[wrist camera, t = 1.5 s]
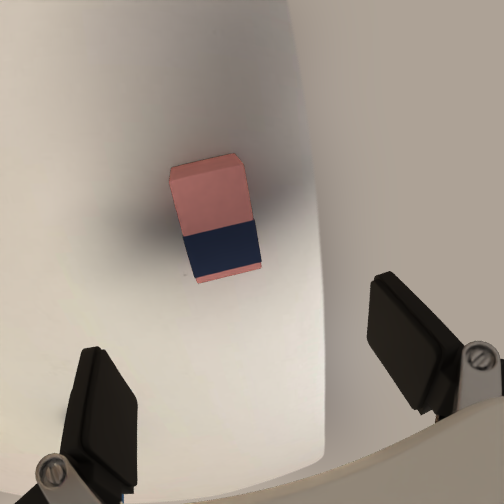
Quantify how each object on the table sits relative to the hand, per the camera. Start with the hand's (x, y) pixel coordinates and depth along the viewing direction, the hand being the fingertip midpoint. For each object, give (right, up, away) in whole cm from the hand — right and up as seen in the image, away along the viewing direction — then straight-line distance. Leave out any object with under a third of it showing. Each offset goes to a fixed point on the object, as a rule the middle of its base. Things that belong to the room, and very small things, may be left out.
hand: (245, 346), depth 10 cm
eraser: (-2, +6, +10) cm, 12 cm away
